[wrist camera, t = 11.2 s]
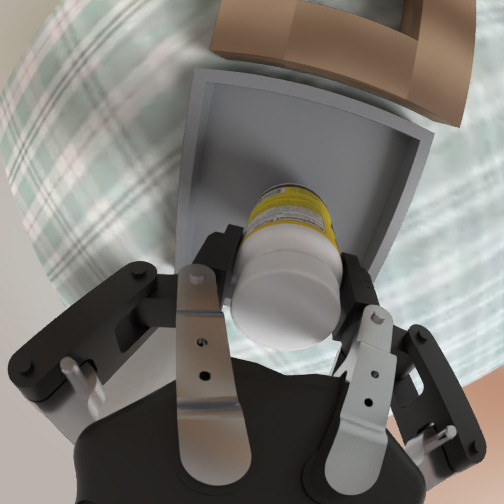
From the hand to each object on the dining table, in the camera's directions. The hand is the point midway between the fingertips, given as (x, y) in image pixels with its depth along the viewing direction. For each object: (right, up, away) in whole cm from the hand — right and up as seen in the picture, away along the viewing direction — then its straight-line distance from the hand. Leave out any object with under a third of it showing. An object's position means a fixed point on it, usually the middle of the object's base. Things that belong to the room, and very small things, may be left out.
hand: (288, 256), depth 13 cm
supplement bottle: (+1, +2, +4) cm, 5 cm away
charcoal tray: (+1, +3, +6) cm, 7 cm away
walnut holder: (+5, +16, -3) cm, 17 cm away
